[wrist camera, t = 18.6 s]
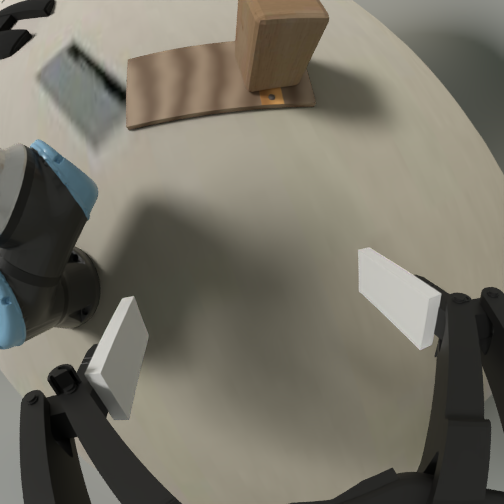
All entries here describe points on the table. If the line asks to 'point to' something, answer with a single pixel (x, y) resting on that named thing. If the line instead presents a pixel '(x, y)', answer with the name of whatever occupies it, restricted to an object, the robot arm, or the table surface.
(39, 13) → the black notched oval shell
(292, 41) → the wooden block
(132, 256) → the table surface
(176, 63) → the floor board
